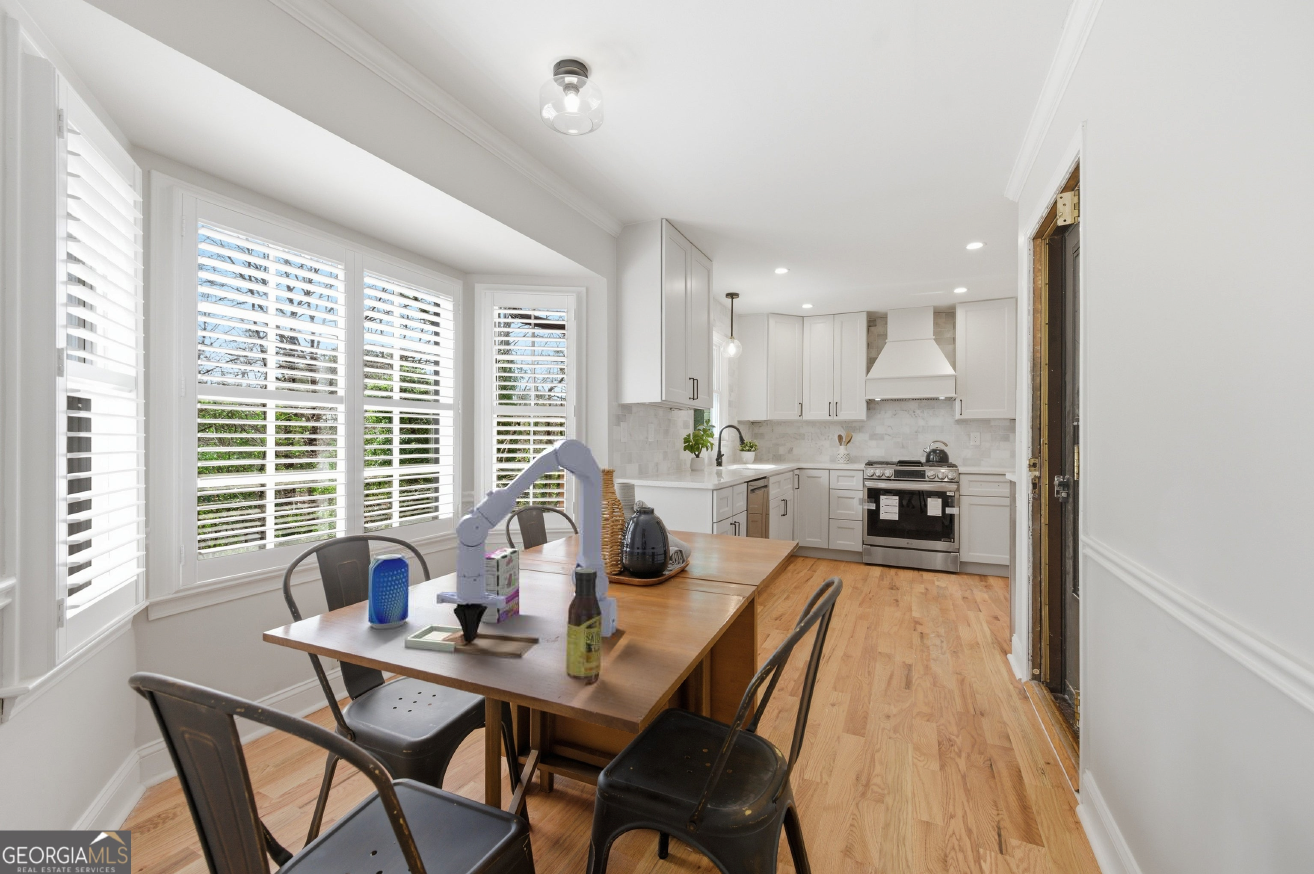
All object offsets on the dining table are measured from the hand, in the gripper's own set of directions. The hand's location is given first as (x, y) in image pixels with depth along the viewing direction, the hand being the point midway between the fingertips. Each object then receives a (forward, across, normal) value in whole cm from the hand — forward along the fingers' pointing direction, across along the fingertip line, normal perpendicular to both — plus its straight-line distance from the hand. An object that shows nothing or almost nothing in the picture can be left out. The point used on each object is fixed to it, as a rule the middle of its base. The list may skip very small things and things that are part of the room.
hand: (470, 640), depth 116 cm
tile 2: (+1, -3, 0) cm, 3 cm away
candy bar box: (+2, -3, +18) cm, 19 cm away
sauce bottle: (+2, +27, -8) cm, 28 cm away
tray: (+2, -6, 0) cm, 7 cm away
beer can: (+2, -27, +10) cm, 29 cm away
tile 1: (+2, -8, 0) cm, 8 cm away
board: (+2, +6, 0) cm, 6 cm away
